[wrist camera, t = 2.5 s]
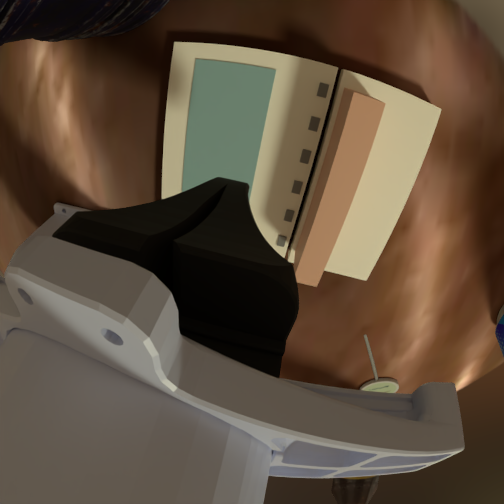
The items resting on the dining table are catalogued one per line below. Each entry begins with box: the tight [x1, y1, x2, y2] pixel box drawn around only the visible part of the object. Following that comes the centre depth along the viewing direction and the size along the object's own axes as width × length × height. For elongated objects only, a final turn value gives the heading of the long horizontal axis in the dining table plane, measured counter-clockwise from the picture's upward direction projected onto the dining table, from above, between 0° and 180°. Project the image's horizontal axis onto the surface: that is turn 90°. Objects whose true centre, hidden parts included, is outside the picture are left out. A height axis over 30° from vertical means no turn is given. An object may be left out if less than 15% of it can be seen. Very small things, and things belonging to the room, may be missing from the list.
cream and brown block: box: [288, 69, 442, 287], centre depth 15 cm, size 6×13×4 cm, turn 170°
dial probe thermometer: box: [360, 335, 399, 393], centre depth 29 cm, size 5×1×15 cm
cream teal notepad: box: [162, 42, 338, 258], centre depth 17 cm, size 9×13×1 cm
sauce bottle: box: [332, 475, 379, 504], centre depth 27 cm, size 7×6×20 cm
